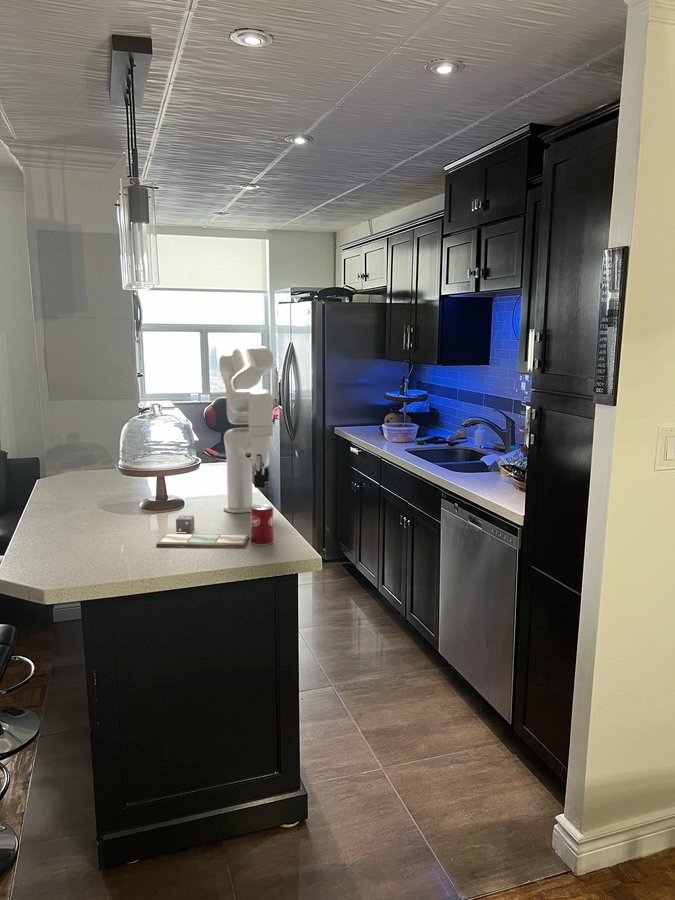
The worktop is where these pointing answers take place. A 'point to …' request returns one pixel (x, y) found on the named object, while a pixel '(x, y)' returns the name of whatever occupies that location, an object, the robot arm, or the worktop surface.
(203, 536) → the board
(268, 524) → the soda can
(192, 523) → the die
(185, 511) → the worktop surface
